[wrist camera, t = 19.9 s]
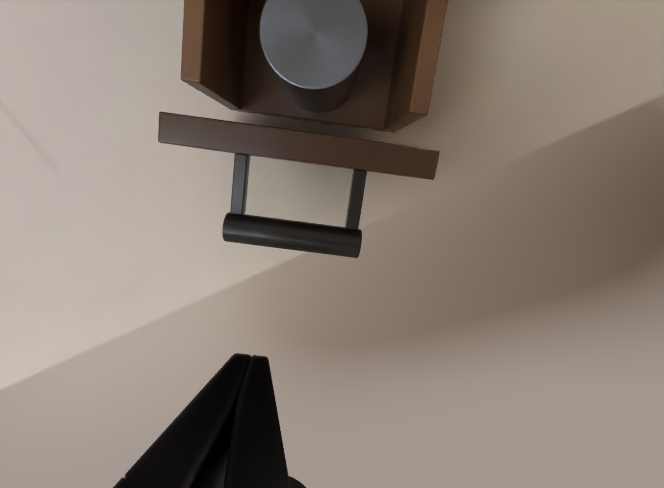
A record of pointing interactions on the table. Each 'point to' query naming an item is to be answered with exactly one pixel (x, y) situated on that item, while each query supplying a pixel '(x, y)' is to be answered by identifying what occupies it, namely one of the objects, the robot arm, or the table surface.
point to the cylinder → (314, 48)
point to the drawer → (270, 99)
